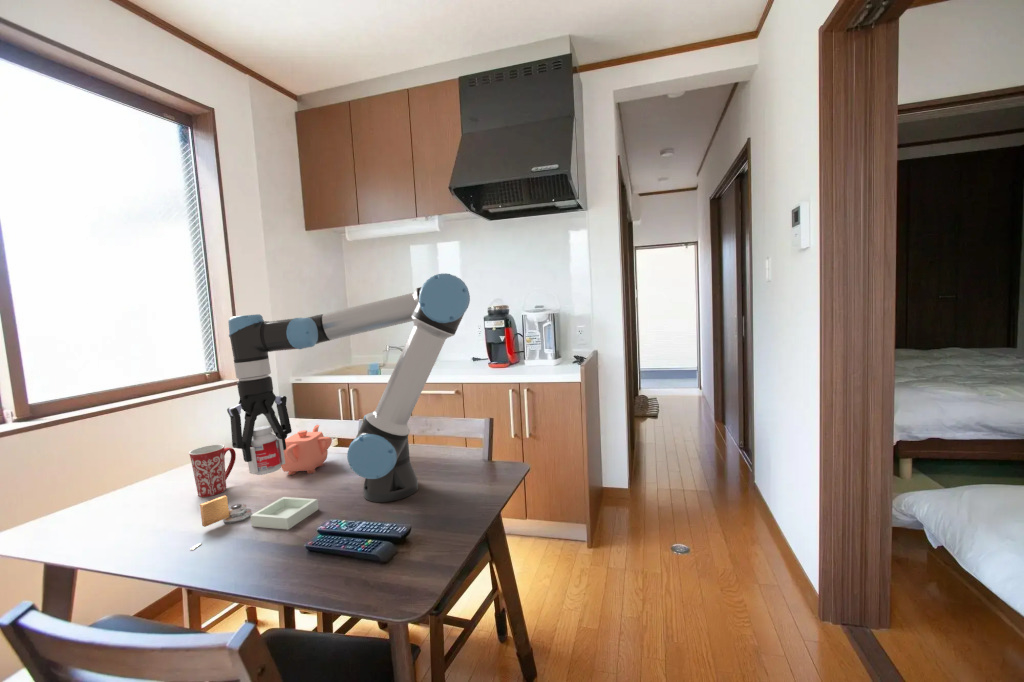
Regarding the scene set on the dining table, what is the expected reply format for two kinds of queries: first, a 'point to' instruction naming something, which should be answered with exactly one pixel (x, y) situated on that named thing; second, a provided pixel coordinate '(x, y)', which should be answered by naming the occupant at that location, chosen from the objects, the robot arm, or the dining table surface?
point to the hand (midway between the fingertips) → (267, 468)
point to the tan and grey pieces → (220, 510)
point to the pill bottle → (266, 450)
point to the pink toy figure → (305, 451)
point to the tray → (284, 513)
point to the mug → (211, 468)
